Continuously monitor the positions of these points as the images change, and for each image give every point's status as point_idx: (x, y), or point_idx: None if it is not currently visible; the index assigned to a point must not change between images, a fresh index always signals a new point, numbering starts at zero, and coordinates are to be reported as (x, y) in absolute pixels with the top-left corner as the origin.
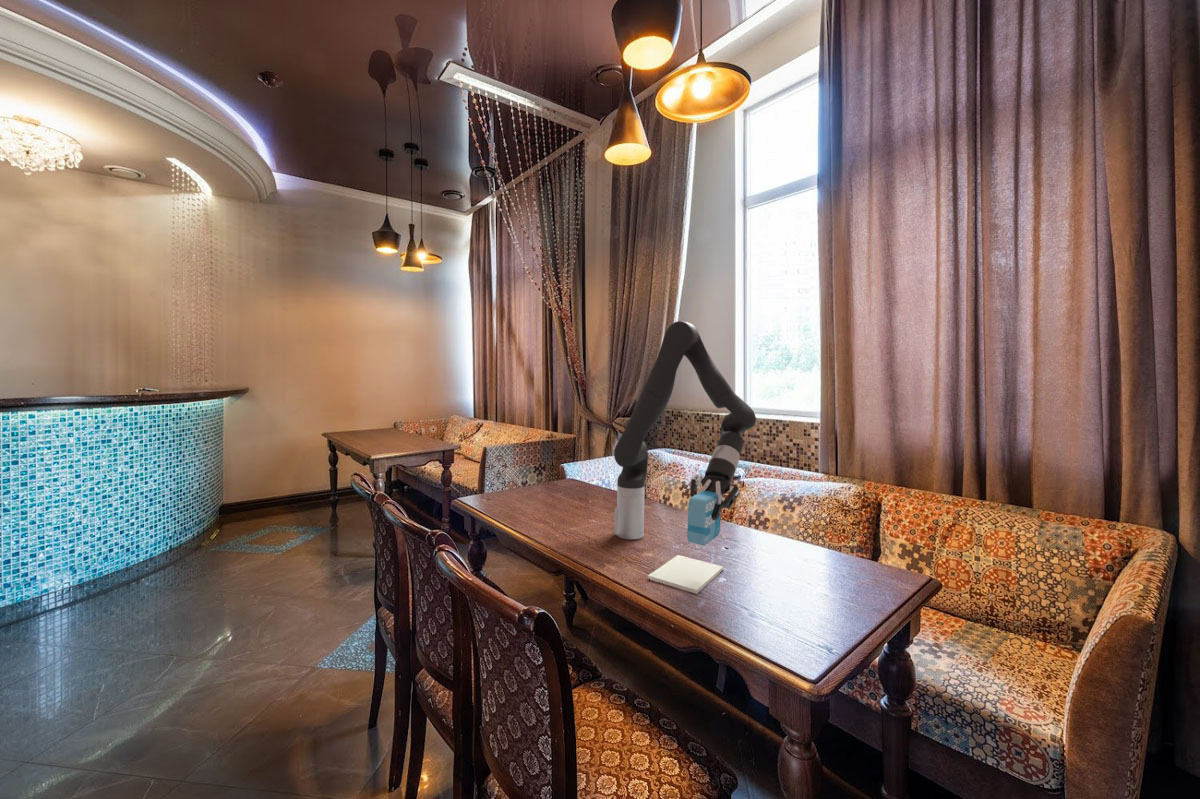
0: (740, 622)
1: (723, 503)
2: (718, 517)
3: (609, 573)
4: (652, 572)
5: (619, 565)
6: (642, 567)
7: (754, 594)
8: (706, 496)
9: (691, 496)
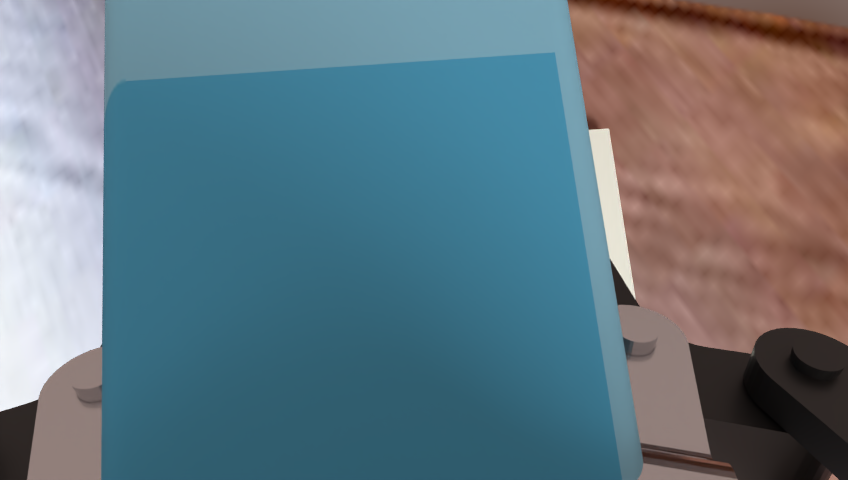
0: (49, 43)
1: (9, 439)
2: None
3: (776, 68)
4: (615, 174)
5: (815, 176)
6: (715, 237)
7: (76, 350)
8: (245, 1)
9: (788, 333)
